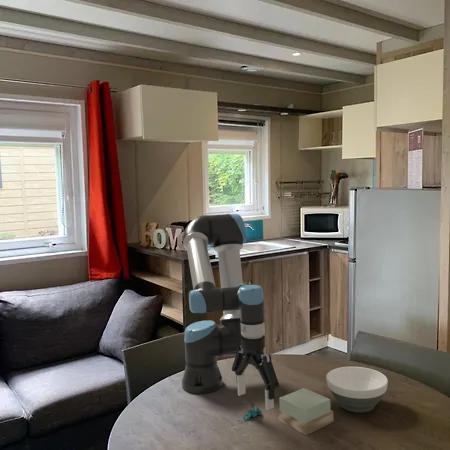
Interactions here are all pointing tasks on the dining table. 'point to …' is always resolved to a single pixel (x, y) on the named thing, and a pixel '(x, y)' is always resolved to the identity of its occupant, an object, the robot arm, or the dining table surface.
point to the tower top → (304, 405)
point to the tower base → (306, 427)
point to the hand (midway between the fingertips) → (255, 401)
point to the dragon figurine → (251, 412)
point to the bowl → (357, 387)
